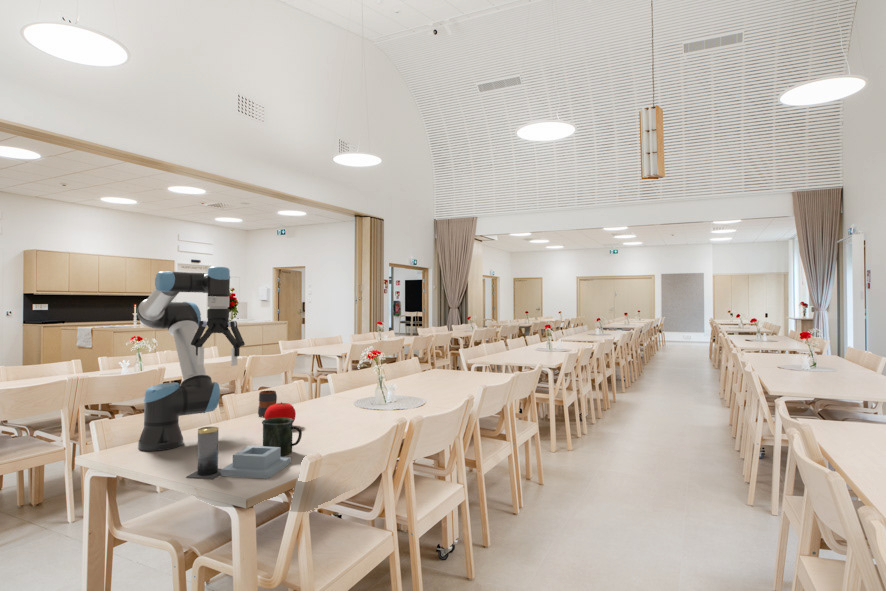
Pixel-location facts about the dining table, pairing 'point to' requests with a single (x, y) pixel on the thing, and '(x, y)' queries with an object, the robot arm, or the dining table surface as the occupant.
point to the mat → (195, 475)
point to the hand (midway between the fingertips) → (217, 365)
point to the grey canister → (207, 451)
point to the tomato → (280, 411)
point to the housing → (256, 462)
